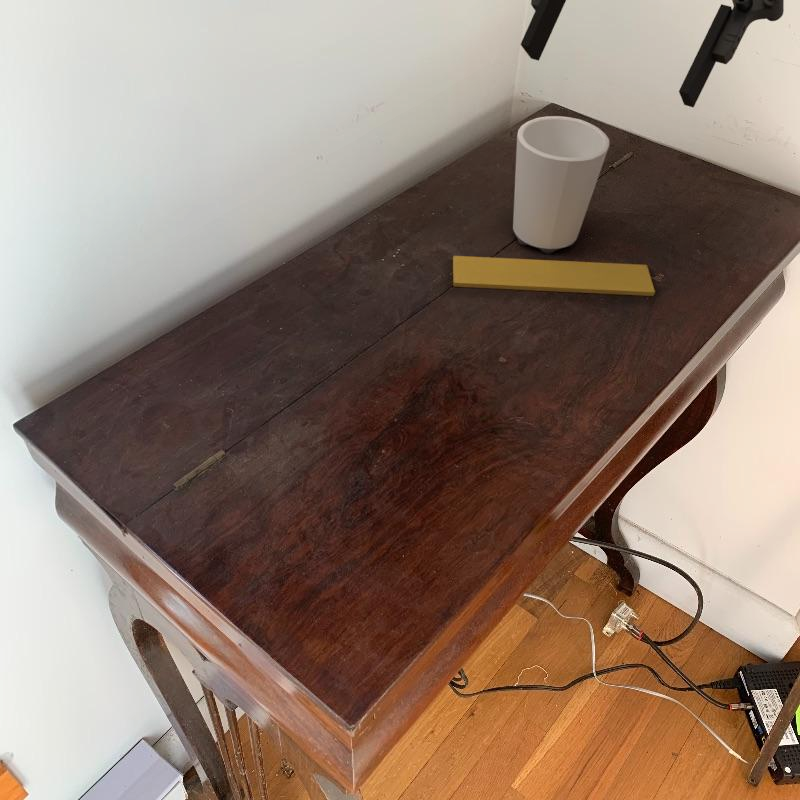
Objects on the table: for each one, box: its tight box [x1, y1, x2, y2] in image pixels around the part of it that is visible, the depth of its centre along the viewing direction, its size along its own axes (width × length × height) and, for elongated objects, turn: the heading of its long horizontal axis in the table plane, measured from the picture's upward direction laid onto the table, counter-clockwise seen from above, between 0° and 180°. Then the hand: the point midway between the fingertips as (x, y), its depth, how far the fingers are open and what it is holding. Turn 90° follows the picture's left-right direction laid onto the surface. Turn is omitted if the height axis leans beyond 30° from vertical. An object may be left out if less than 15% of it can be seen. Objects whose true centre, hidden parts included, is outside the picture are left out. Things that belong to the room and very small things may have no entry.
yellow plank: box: [452, 255, 656, 297], centre depth 89 cm, size 22×5×1 cm, turn 88°
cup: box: [512, 115, 610, 254], centre depth 91 cm, size 10×10×13 cm
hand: (604, 75), depth 63 cm, fingers open, 13 cm apart
